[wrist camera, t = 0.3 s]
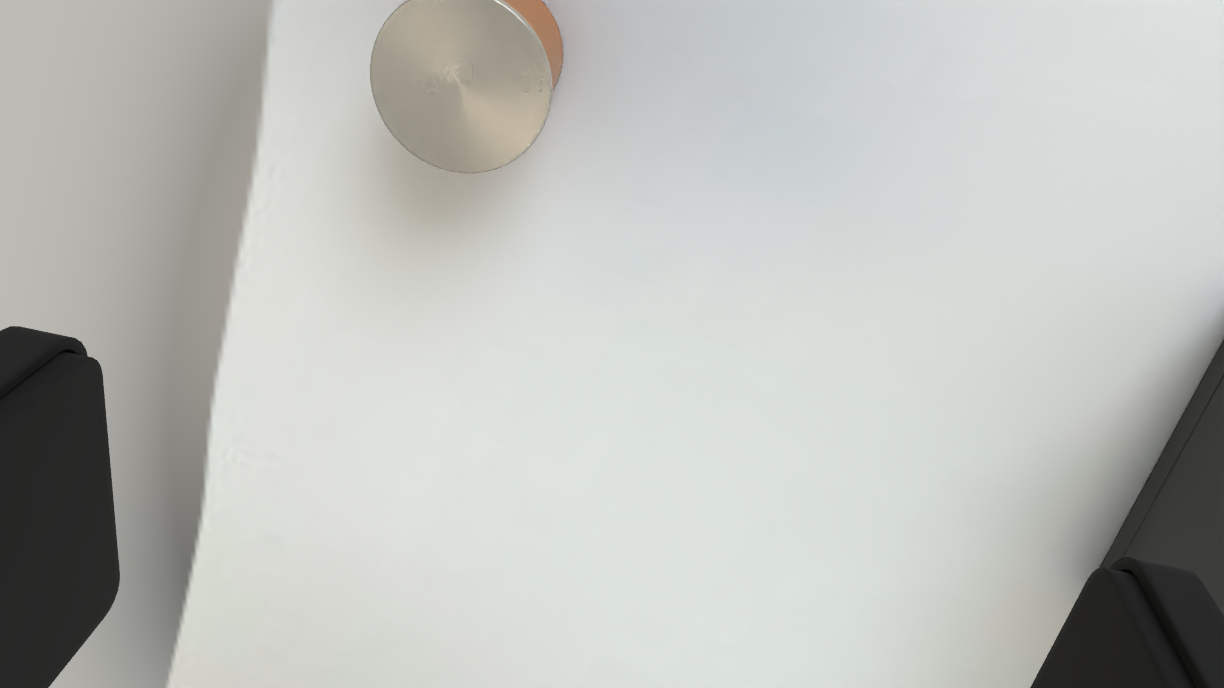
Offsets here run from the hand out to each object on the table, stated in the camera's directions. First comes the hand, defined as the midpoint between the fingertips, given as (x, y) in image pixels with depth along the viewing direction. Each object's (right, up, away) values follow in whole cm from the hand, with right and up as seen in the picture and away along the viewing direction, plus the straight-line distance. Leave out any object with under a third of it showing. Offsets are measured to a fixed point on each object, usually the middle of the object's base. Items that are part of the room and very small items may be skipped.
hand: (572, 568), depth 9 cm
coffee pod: (-3, +10, +18) cm, 21 cm away
